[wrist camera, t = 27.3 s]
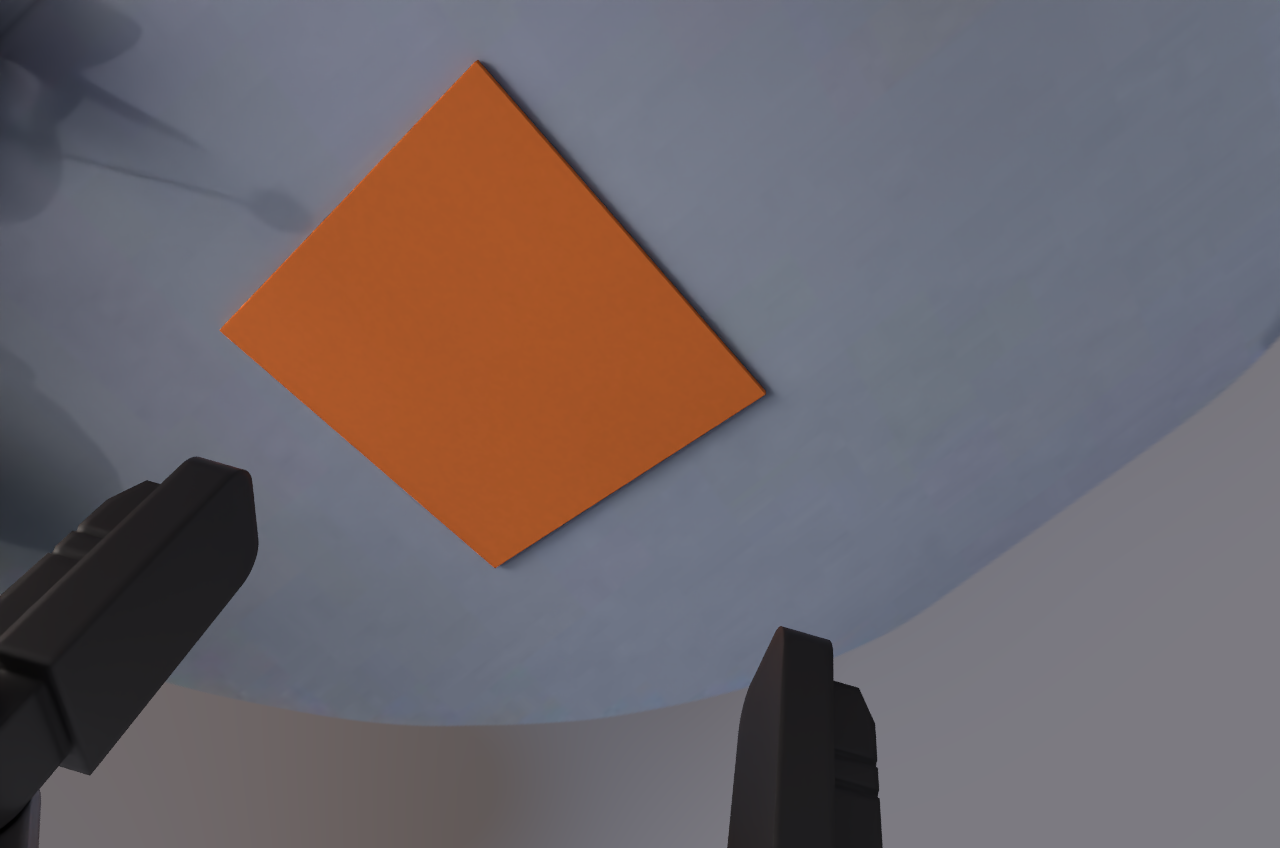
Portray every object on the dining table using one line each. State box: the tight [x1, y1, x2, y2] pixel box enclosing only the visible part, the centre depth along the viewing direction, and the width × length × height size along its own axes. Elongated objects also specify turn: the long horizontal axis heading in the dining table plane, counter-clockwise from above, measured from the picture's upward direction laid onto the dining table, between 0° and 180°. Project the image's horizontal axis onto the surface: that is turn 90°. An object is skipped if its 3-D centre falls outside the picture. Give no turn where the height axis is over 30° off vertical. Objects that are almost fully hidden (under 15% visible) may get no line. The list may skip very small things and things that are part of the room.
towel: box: [220, 60, 766, 568], centre depth 37 cm, size 18×18×1 cm
